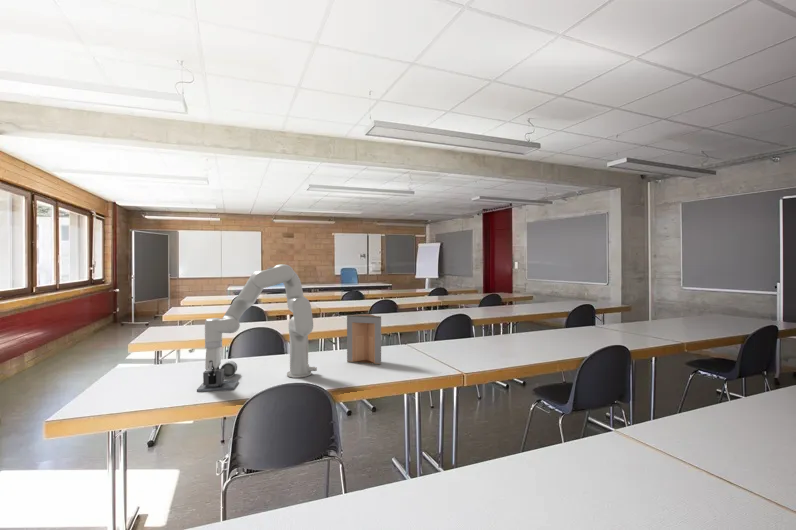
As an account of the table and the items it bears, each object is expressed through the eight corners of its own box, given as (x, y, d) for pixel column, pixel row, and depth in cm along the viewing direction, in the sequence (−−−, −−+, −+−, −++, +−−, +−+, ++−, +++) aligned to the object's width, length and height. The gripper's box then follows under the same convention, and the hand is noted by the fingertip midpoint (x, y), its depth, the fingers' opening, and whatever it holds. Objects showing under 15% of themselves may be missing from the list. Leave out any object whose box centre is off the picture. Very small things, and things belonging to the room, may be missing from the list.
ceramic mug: (238, 373, 221) (237, 358, 221) (235, 377, 213) (235, 362, 213) (216, 374, 218) (216, 360, 218) (213, 379, 210) (213, 364, 210)
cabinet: (347, 362, 243) (346, 315, 243) (353, 358, 252) (353, 313, 252) (380, 365, 237) (380, 316, 237) (385, 360, 246) (385, 314, 246)
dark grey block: (224, 380, 200) (224, 368, 200) (221, 384, 194) (221, 371, 194) (206, 381, 198) (206, 369, 198) (203, 385, 193) (203, 372, 193)
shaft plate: (238, 382, 204) (238, 372, 204) (233, 389, 192) (233, 379, 192) (204, 384, 201) (204, 374, 201) (196, 391, 189) (196, 381, 189)
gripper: (210, 341, 204) (210, 377, 204) (199, 348, 187) (200, 387, 187) (226, 340, 205) (226, 376, 206) (217, 347, 188) (217, 386, 189)
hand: (214, 381), depth 196 cm, fingers closed on dark grey block, 5 cm apart
